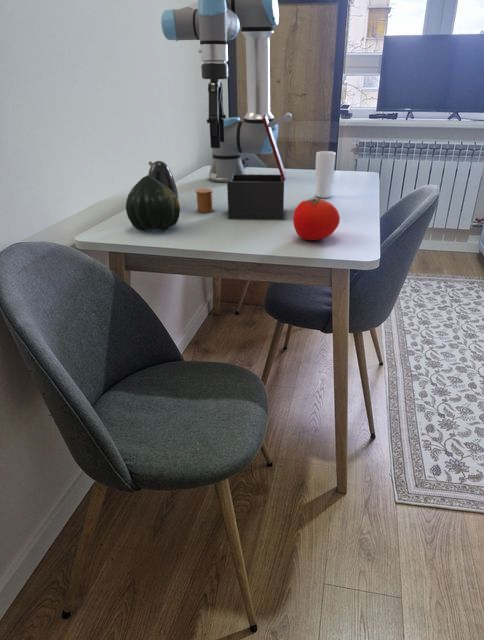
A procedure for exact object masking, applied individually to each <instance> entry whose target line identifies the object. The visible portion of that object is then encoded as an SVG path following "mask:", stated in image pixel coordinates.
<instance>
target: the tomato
mask: <svg viewBox="0 0 484 640" xmlns="http://www.w3.org/2000/svg"><path fill="white" fill-rule="evenodd" d="M293 211H294V212H293V216H292V220H293V221H292V222H293V227H294V230H295V232H296V234H297V235H298V237H299V238H300V239H302V240H305V241H318V240H319V241H320V240H322V239H326V238H328V237H329V236H331V235H332V234H333V233H334V232H335V231H336V229H337V228H339V227H338V226H339V225H340V223H341V217H340V213H339V210H338V209H337V207H335V206H334V204H333V203H331V202H329V201H327V200H325V199H323V198H322V197H321V198H319V197H318V198H313V199H308V200H302V201H301V202H300V203H299V204H298V205H297V206H296V207H295V208H294V210H293Z"/></svg>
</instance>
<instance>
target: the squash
mask: <svg viewBox="0 0 484 640" xmlns="http://www.w3.org/2000/svg"><path fill="white" fill-rule="evenodd" d="M125 213H126V217H127V218H128V220H129V222H130V224H131V225H132V226H133V227H134V228H135V229H137V230H139V231H142V232H143V231H144V232H145V231H148V230H152V229H158V230H159V231H162V232H166V231H169V229H170V228H173V227H174V226H175V225H177V223H178V221H179V219H180V213H181V205H180V201H179V197H178V198H177V196H176V195H175V193H174V192H173V191H172V190H171V189H169V188H168V187H167V186H165V185H164V184H162V183H161V182H159V181H158V180H156V179H154V178H153V177H150V176H149V175H148V174H146V176H143V177H142V178H140V180H138V181H137V183H136V184H135V185H133V187H132V188H131V189H130V191H129V193H128V195H127V198H126V203H125Z"/></svg>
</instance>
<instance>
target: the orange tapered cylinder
mask: <svg viewBox="0 0 484 640" xmlns="http://www.w3.org/2000/svg"><path fill="white" fill-rule="evenodd" d="M195 194H196V206H197V212H198V213H200V214H208V213H212V212H214V211H213V209H214V208H213V189H210V188H199V189H196V190H195Z"/></svg>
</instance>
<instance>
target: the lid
mask: <svg viewBox="0 0 484 640" xmlns="http://www.w3.org/2000/svg"><path fill="white" fill-rule="evenodd" d="M262 120H263V123H264V126H265V129H266V132H267V135H268V138H269V141H270V144H271V147H272V150H273V152H272V153H273V156H274V159H275V163H276V165H277V169H278V171H279V175H281V177H282V180H283V181H284V182H285V181H287V179H286V178H287V177H286V170H285V167H284V164H283V161H282V157H281V154H280V151H279V148H278V145H277V142H275V139H274V136H273V133H272V129H271V126H274V125H276V124H278V125H279V124H281V123H283V122H286V123H291V122H292V120H293V116H292V113H291V112H286V113H285V114H284V116H282V117H279V118H277V119H274V121H272V122H269V120H268V117H267V114H265V115H264V116H263V118H262Z"/></svg>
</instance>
